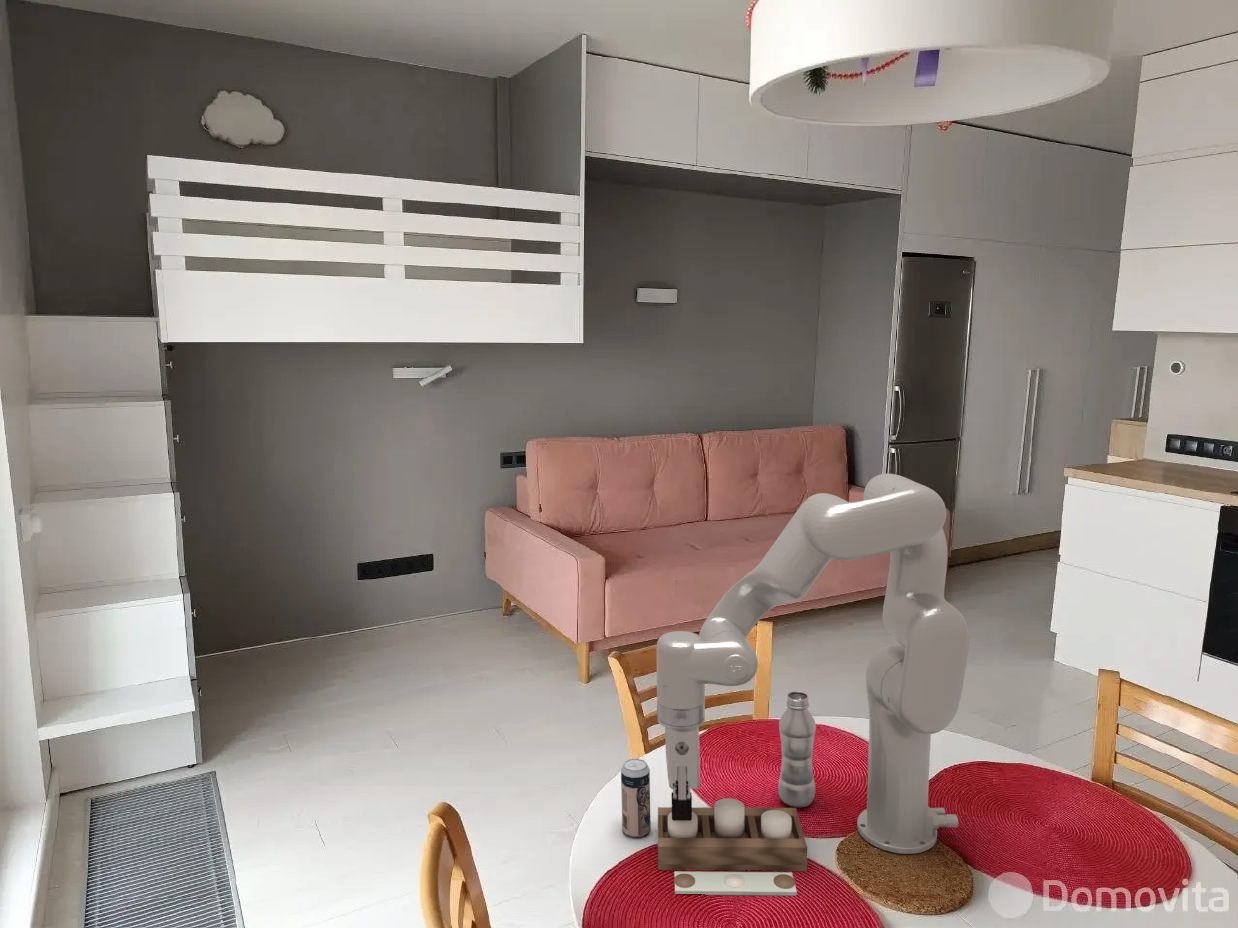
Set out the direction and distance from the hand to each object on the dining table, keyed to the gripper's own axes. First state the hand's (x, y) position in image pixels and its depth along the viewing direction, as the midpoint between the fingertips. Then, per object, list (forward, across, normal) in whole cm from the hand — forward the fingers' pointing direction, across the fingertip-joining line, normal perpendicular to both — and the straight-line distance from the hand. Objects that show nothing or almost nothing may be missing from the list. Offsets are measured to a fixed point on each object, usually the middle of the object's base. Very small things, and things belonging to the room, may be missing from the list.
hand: (681, 817), depth 138 cm
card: (+6, -9, -8) cm, 13 cm away
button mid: (+2, 0, -8) cm, 8 cm away
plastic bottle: (+6, +14, -21) cm, 26 cm away
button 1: (+4, 0, 0) cm, 4 cm away
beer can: (+6, +5, +8) cm, 11 cm away
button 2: (+4, 0, -15) cm, 16 cm away
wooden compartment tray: (+6, 0, -8) cm, 9 cm away
